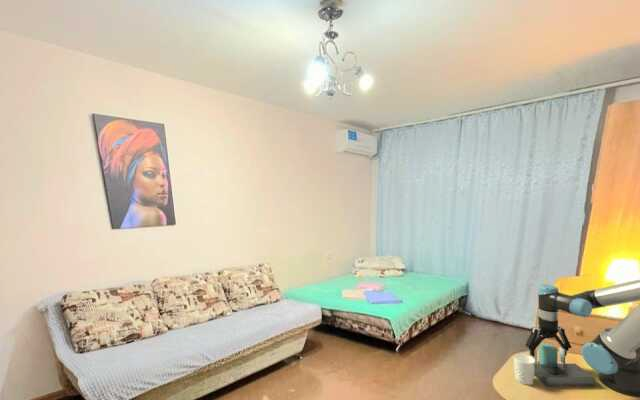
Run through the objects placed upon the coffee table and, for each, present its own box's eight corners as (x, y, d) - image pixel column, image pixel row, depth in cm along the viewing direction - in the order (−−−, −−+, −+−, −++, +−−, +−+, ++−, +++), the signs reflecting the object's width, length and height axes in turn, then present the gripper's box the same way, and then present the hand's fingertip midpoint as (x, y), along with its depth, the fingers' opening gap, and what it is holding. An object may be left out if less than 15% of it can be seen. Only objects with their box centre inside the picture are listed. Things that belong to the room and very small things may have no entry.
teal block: (549, 363, 148) (549, 343, 147) (557, 369, 143) (557, 348, 142) (539, 363, 148) (539, 343, 147) (546, 369, 143) (546, 348, 142)
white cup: (538, 386, 131) (538, 364, 131) (518, 385, 133) (518, 362, 132) (529, 375, 139) (529, 354, 138) (510, 374, 140) (510, 352, 140)
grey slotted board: (575, 372, 141) (575, 363, 140) (594, 386, 131) (594, 376, 130) (531, 372, 141) (531, 364, 141) (546, 386, 131) (546, 377, 131)
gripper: (568, 314, 148) (568, 357, 149) (516, 315, 148) (517, 358, 149) (581, 321, 140) (581, 366, 141) (526, 322, 141) (527, 367, 142)
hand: (548, 362), depth 145 cm, fingers open, 12 cm apart
